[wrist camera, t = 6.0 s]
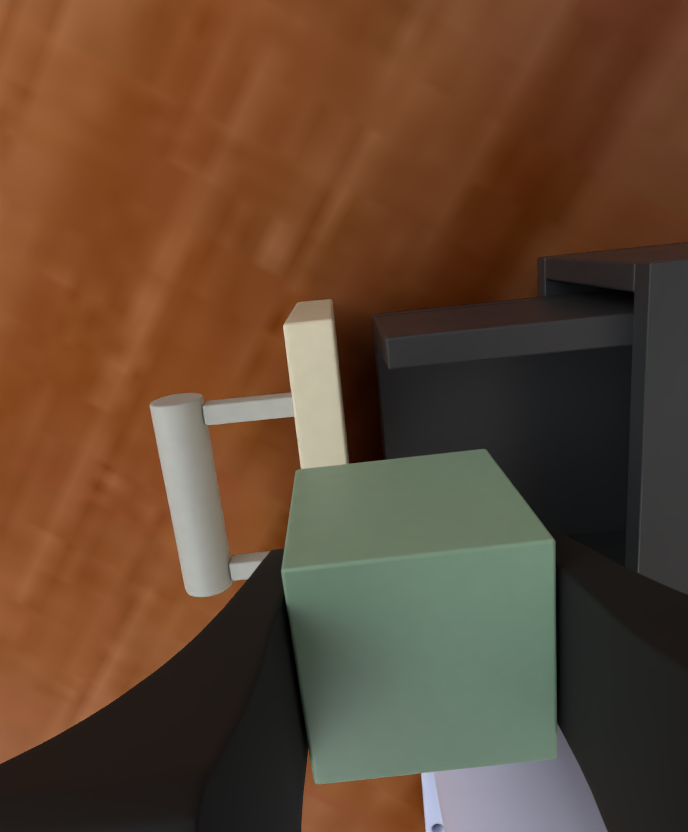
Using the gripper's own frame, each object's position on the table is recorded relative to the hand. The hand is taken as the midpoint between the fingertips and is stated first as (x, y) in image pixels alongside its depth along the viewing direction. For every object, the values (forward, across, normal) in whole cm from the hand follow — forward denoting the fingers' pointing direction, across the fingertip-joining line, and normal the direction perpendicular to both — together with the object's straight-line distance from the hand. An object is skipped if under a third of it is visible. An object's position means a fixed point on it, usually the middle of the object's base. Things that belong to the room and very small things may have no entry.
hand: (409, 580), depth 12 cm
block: (+1, 0, 0) cm, 1 cm away
